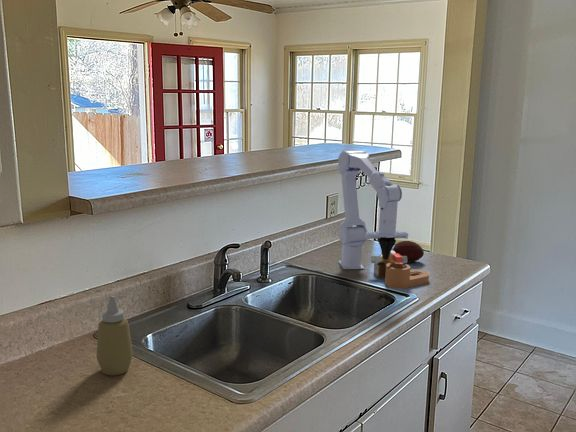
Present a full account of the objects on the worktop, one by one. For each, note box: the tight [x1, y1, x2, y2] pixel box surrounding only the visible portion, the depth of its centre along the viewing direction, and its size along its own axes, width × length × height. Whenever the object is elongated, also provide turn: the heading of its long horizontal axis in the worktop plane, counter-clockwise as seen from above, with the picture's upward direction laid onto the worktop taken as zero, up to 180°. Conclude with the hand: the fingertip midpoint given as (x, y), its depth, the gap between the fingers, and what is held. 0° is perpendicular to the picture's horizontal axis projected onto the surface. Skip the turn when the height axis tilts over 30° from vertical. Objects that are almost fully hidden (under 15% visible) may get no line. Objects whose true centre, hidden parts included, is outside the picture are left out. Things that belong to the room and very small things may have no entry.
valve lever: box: [389, 247, 403, 263], centre depth 194 cm, size 12×2×2 cm, turn 7°
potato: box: [393, 240, 425, 264], centre depth 218 cm, size 12×11×8 cm
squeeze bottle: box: [96, 295, 134, 376], centre depth 125 cm, size 8×8×18 cm
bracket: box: [384, 262, 430, 289], centre depth 193 cm, size 18×8×7 cm, turn 123°
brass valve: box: [370, 251, 407, 279], centre depth 200 cm, size 6×13×8 cm, turn 97°
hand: (385, 258), depth 190 cm, fingers closed
